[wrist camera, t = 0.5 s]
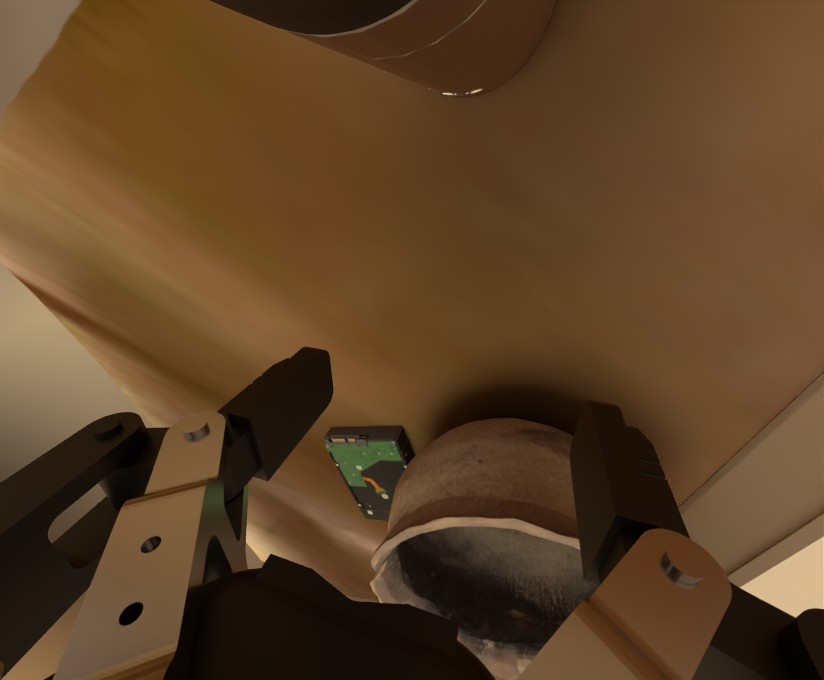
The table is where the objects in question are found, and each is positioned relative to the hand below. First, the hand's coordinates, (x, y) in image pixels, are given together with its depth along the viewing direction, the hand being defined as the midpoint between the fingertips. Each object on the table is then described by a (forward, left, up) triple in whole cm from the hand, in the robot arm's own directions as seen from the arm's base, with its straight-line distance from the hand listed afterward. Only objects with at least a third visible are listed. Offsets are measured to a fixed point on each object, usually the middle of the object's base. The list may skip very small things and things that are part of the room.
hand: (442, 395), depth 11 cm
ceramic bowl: (+21, +9, -18) cm, 29 cm away
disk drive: (+31, -5, -19) cm, 37 cm away
